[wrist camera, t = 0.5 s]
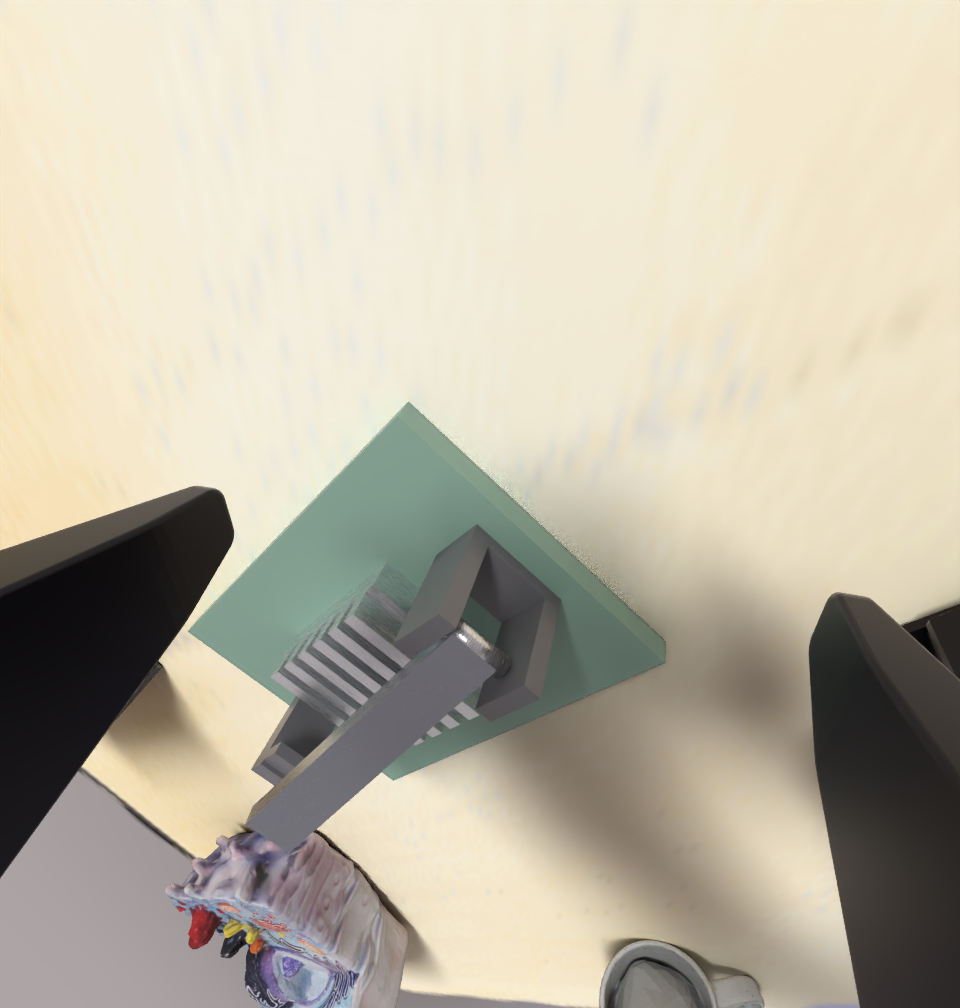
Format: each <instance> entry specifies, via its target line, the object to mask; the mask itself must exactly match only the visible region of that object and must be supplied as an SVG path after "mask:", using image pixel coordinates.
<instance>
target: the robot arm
mask: <svg viewBox="0 0 960 1008" xmlns="http://www.w3.org/2000/svg"><path fill="white" fill-rule="evenodd" d="M233 539H234V529H233V525H232V521H231V518H230V515H229V511H228V508H227V504H226V501H225V498H224V495H223V494H222V493H221V492H220V491H219V490H217V489H215V488H209V487H203V486H192V487H189V488H186V489H183V490H180V491H177V492H174V493H171V494H168V495H165V496H162V497H159V498H156V499H153V500H150V501H147V502H144V503H141V504H138V505H135V506H132V507H129V508H126V509H123V510H120V511H117V512H114V513H111V514H108V515H105V516H102V517H99V518H96V519H93V520H90V521H87V522H84V523H81V524H78V525H75V526H72V527H69V528H66V529H63V530H60V531H57V532H54V533H51V534H48V535H45V536H42V537H39V538H36V539H33V540H30V541H27V542H24V543H21V544H18V545H15V546H12V547H9V548H6V549H3V550H0V878H1V876H2V875H3V874H4V872H5V871H6V870H7V868H8V867H9V865H10V864H11V863H12V861H13V860H14V859H15V857H16V856H17V854H18V853H19V852H20V850H21V849H22V848H23V846H24V845H25V843H26V842H27V841H28V839H29V838H30V837H31V835H32V834H33V832H34V831H35V830H36V828H37V827H38V826H39V824H40V823H41V821H42V820H43V818H44V817H45V816H46V815H47V813H48V812H49V810H50V809H51V808H52V806H53V805H54V803H55V802H56V801H57V799H58V798H59V796H60V795H61V794H62V793H63V791H64V790H65V788H66V787H67V786H68V784H69V783H70V781H71V780H72V779H73V777H74V776H75V775H76V773H77V772H78V770H79V769H80V768H81V766H82V765H83V764H84V762H85V761H86V759H87V758H88V757H89V755H90V754H91V753H92V751H93V750H94V748H95V747H96V746H97V744H98V743H99V742H100V740H101V739H102V737H103V736H104V735H105V733H106V732H107V731H108V729H109V728H110V726H111V725H112V724H113V722H114V721H115V720H116V718H117V717H118V715H119V714H120V713H121V711H122V710H123V708H124V707H125V706H126V704H127V703H128V702H129V700H130V699H131V697H132V696H133V695H134V693H135V692H136V691H137V689H138V688H139V686H140V685H141V684H142V682H143V681H144V680H145V678H146V677H147V675H148V674H149V673H150V671H151V670H152V669H153V667H154V666H155V664H156V663H157V662H158V660H159V659H160V658H161V656H162V655H163V653H164V652H165V651H166V649H167V648H168V647H169V645H170V644H171V642H172V641H173V640H174V638H175V637H176V635H177V634H178V633H179V631H180V630H181V628H182V627H183V626H184V624H185V623H186V621H187V620H188V618H189V616H190V615H191V613H192V612H193V610H194V608H195V607H196V605H197V603H198V602H199V600H200V598H201V596H202V595H203V593H204V591H205V590H206V588H207V586H208V584H209V583H210V581H211V579H212V578H213V576H214V574H215V572H216V571H217V569H218V567H219V566H220V564H221V562H222V560H223V559H224V557H225V555H226V554H227V552H228V550H229V548H230V547H231V545H232V542H233ZM809 667H810V685H811V703H812V721H813V739H814V753H815V764H816V770H817V777H818V783H819V788H820V794H821V799H822V804H823V810H824V815H825V821H826V826H827V832H828V837H829V842H830V848H831V853H832V859H833V864H834V870H835V875H836V880H837V886H838V891H839V897H840V902H841V907H842V913H843V918H844V924H845V929H846V935H847V940H848V945H849V951H850V956H851V962H852V967H853V972H854V978H855V983H856V989H857V994H858V1000H859V1005H860V1008H960V605H958V606H955V607H952V608H950V609H947V610H944V611H942V612H939V613H936V614H934V615H931V616H928V617H926V618H923V619H920V620H917V621H915V622H912V623H909V624H907V625H904V626H900V625H899V624H898V623H897V622H896V621H895V620H894V619H893V618H892V617H891V616H889V615H888V614H887V613H886V612H885V611H884V610H883V609H882V608H881V607H880V606H878V605H877V604H876V603H875V602H874V601H873V600H871V599H870V598H868V597H864V596H858V595H852V594H846V593H840V592H837V593H834V594H832V595H831V596H830V597H829V598H828V600H827V602H826V604H825V607H824V609H823V611H822V614H821V616H820V618H819V620H818V623H817V625H816V627H815V630H814V632H813V634H812V637H811V640H810V645H809Z"/></svg>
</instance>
